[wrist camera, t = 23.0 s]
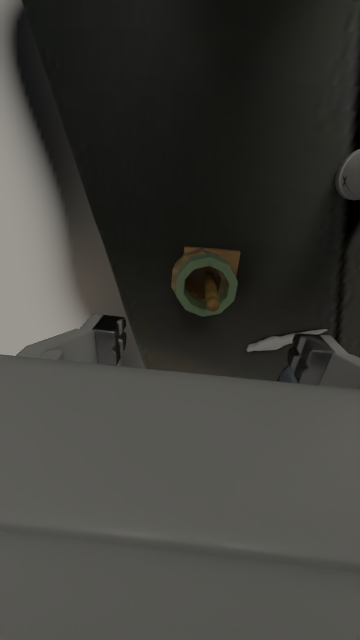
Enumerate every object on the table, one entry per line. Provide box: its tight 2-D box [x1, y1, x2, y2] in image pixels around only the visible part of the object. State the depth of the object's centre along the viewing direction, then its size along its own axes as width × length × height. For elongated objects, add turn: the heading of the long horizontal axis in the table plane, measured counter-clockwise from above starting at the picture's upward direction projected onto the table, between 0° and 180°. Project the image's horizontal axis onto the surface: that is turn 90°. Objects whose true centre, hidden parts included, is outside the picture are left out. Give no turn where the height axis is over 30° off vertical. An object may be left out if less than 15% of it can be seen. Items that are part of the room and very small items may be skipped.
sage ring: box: [176, 253, 238, 317], centre depth 37 cm, size 9×9×3 cm
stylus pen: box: [247, 329, 327, 352], centre depth 46 cm, size 15×3×2 cm, turn 109°
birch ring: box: [171, 248, 227, 302], centre depth 39 cm, size 9×9×3 cm
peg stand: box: [184, 246, 241, 312], centre depth 36 cm, size 9×9×14 cm
